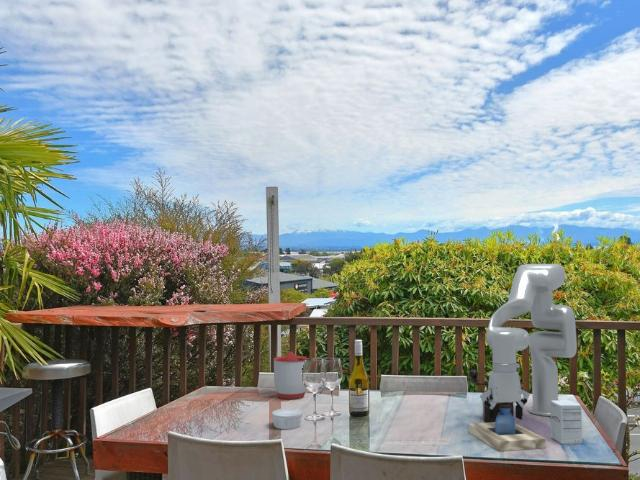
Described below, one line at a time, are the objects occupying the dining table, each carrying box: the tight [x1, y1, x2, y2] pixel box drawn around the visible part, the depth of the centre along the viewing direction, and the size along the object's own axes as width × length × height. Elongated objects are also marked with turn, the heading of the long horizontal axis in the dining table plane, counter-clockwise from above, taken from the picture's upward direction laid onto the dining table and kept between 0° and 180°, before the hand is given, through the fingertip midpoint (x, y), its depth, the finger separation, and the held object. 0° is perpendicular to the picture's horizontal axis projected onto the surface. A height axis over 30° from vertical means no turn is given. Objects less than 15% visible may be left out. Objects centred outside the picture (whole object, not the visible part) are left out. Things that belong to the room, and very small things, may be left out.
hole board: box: [468, 422, 546, 452], centre depth 204 cm, size 16×22×3 cm
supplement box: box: [550, 399, 583, 445], centre depth 203 cm, size 7×7×13 cm
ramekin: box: [271, 407, 303, 431], centre depth 223 cm, size 11×11×5 cm
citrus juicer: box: [273, 351, 308, 400], centre depth 272 cm, size 16×17×20 cm
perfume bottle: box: [495, 403, 516, 435], centre depth 204 cm, size 6×6×12 cm
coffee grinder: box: [467, 369, 515, 423], centre depth 230 cm, size 16×11×18 cm
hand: (505, 419), depth 205 cm, fingers open, 9 cm apart
